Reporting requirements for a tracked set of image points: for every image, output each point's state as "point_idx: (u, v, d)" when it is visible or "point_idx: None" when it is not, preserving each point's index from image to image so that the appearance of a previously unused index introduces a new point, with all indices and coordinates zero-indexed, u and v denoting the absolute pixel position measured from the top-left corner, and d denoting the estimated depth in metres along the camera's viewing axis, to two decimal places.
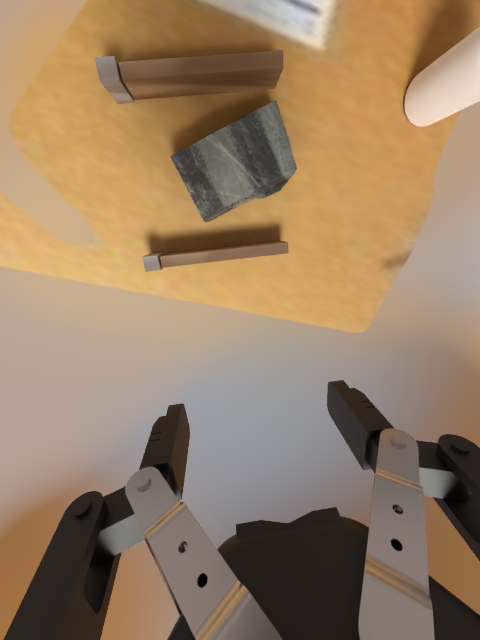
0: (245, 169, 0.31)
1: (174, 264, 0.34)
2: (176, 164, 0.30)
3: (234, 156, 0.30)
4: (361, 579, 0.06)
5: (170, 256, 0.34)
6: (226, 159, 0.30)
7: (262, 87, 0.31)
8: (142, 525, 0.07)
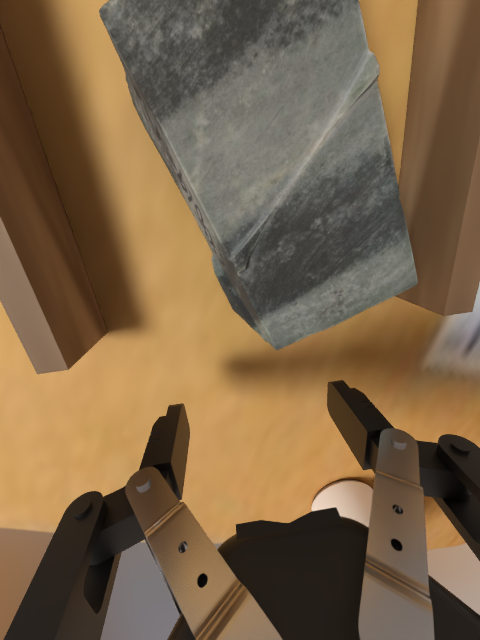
0: (274, 209, 0.10)
1: None
2: None
3: (308, 169, 0.10)
4: (361, 579, 0.06)
5: None
6: (301, 138, 0.09)
7: None
8: (142, 525, 0.07)
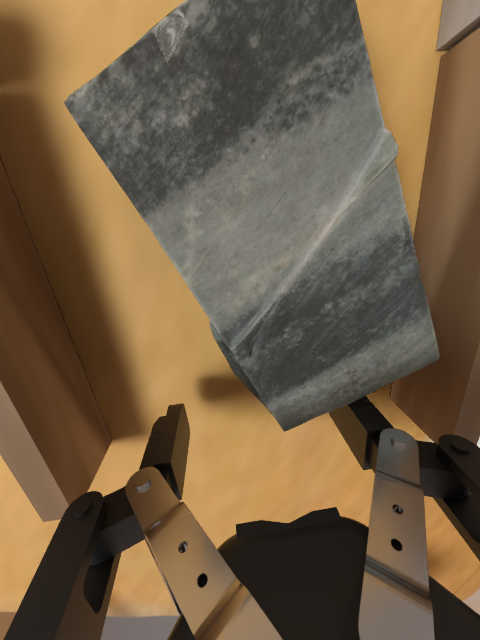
0: (278, 297, 0.09)
1: None
2: None
3: (316, 255, 0.08)
4: (361, 579, 0.06)
5: None
6: (307, 223, 0.08)
7: (398, 383, 0.16)
8: (142, 524, 0.07)
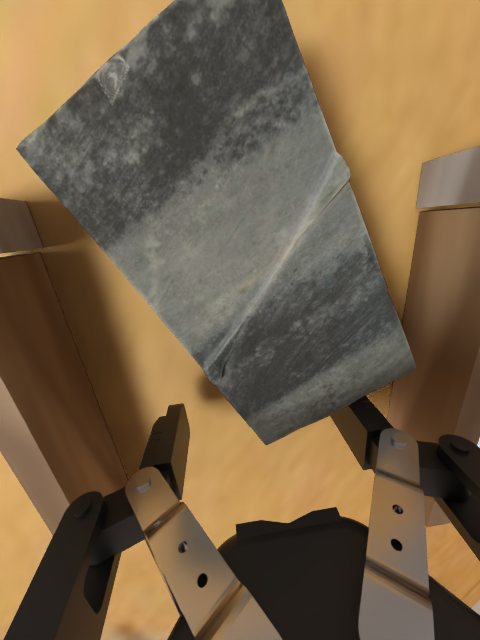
0: (246, 319, 0.09)
1: None
2: None
3: (279, 276, 0.08)
4: (361, 579, 0.06)
5: None
6: (268, 246, 0.08)
7: None
8: (142, 525, 0.07)
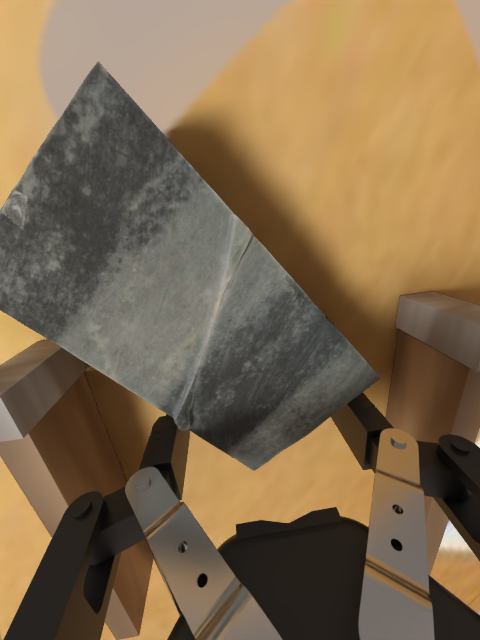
0: (198, 370, 0.10)
1: (14, 468, 0.10)
2: (79, 104, 0.06)
3: (217, 328, 0.09)
4: (361, 579, 0.06)
5: (38, 459, 0.10)
6: (198, 306, 0.09)
7: None
8: (142, 524, 0.07)
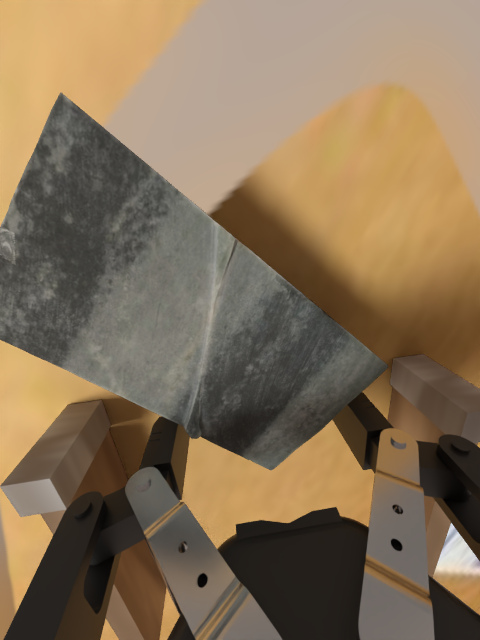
0: (201, 378, 0.10)
1: (55, 529, 0.12)
2: (49, 137, 0.06)
3: (214, 336, 0.09)
4: (361, 579, 0.06)
5: None
6: (192, 316, 0.09)
7: None
8: (142, 524, 0.07)
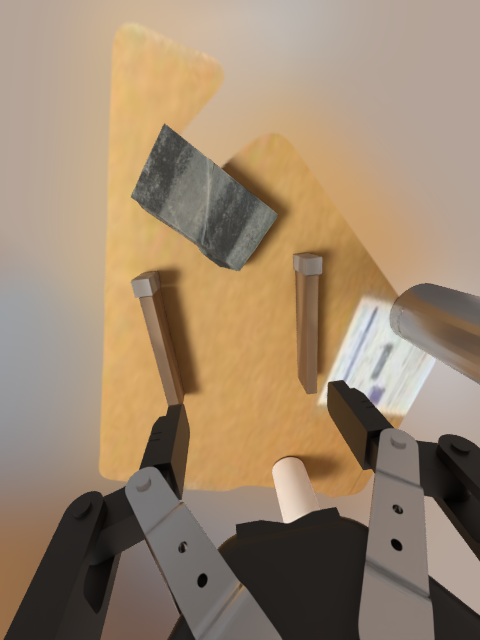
0: (206, 219, 0.27)
1: (144, 311, 0.30)
2: (160, 135, 0.23)
3: (210, 201, 0.26)
4: (361, 579, 0.06)
5: (153, 307, 0.30)
6: (202, 193, 0.26)
7: (298, 370, 0.40)
8: (141, 524, 0.07)
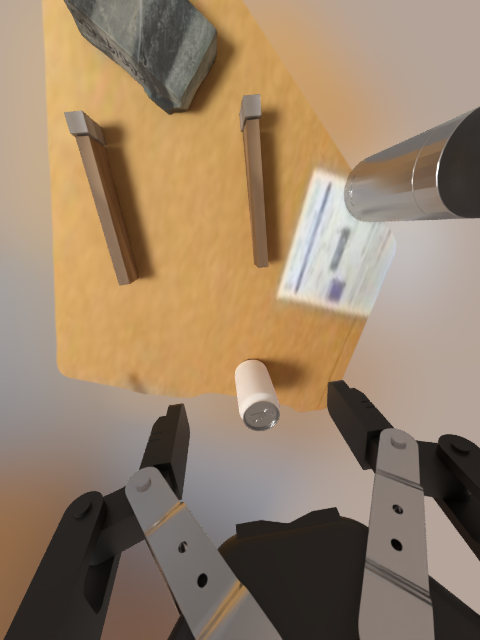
0: (141, 28, 0.26)
1: (82, 154, 0.30)
2: None
3: (143, 4, 0.25)
4: (361, 579, 0.06)
5: (91, 149, 0.29)
6: None
7: (253, 253, 0.39)
8: (142, 525, 0.07)
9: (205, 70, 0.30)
